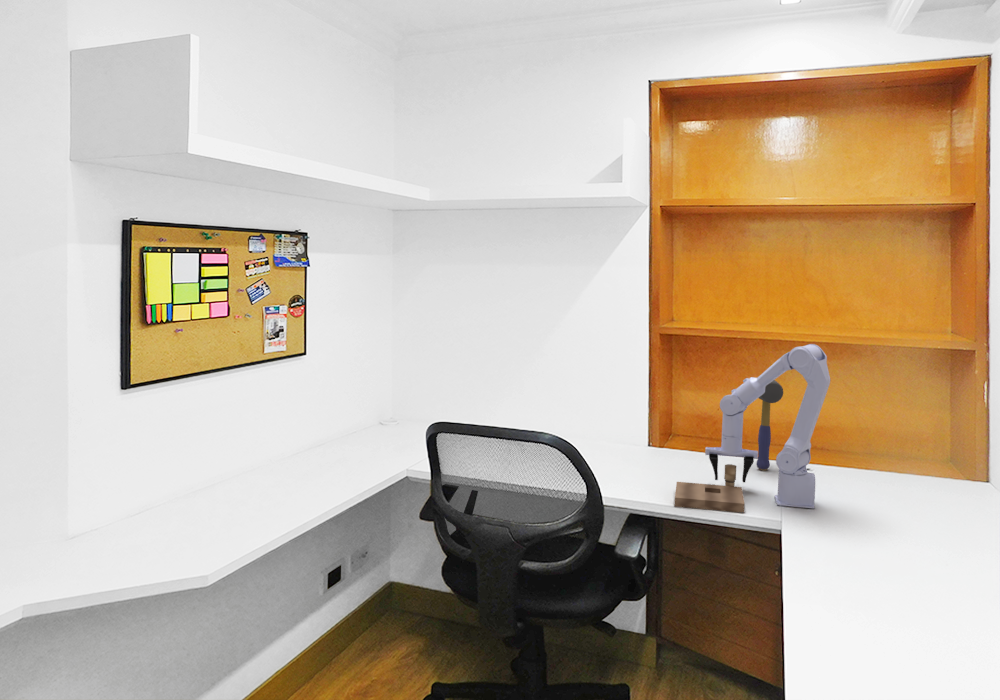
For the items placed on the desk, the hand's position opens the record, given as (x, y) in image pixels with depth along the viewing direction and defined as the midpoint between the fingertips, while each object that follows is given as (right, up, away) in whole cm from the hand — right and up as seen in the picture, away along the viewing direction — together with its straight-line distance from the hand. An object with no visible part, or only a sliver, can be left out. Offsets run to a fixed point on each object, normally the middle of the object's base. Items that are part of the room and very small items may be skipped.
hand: (730, 480), depth 211 cm
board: (-9, -4, -11) cm, 15 cm away
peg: (0, -3, 0) cm, 3 cm away
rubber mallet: (+17, -1, +20) cm, 27 cm away
